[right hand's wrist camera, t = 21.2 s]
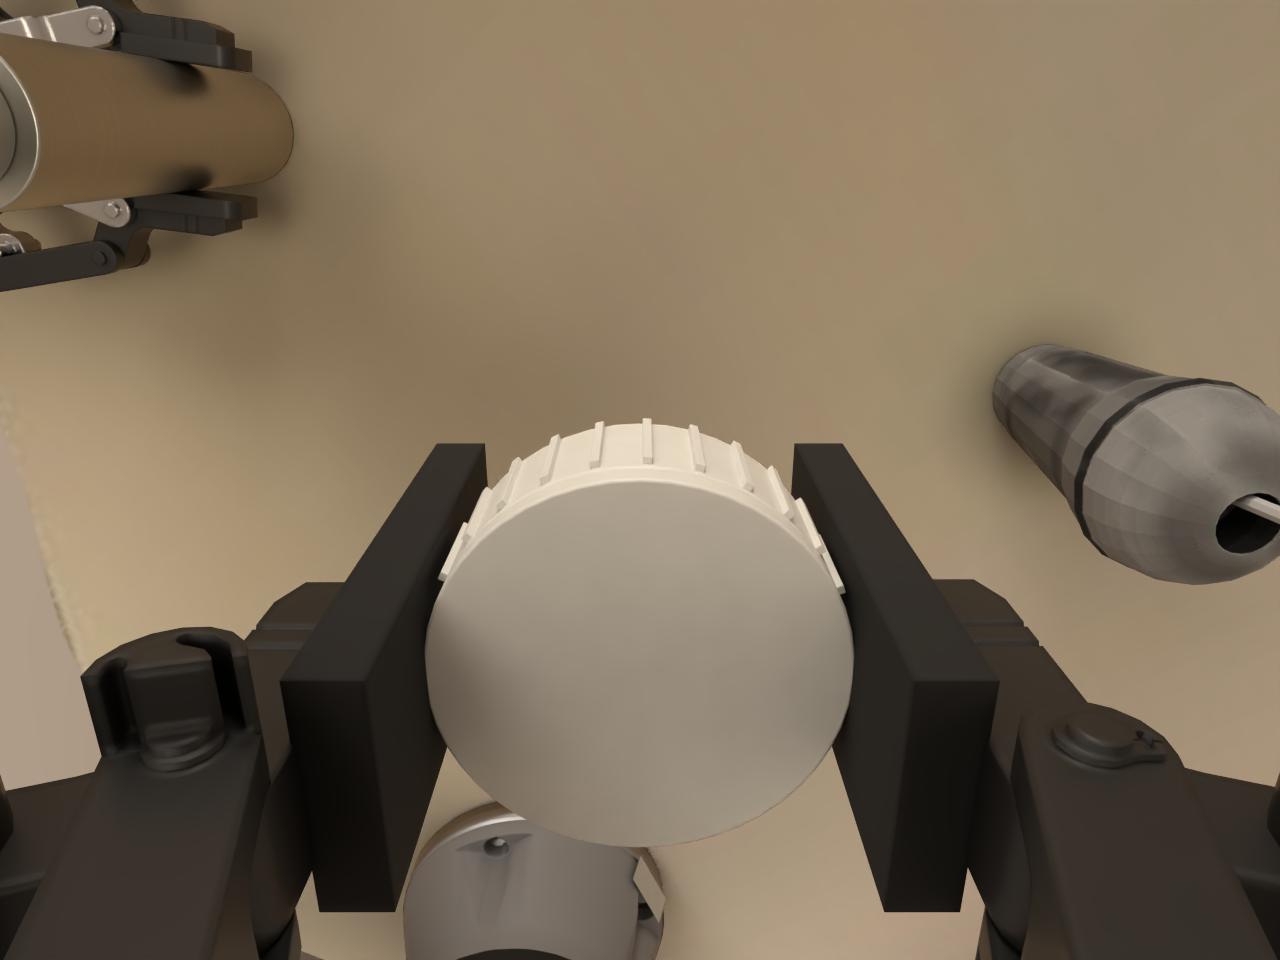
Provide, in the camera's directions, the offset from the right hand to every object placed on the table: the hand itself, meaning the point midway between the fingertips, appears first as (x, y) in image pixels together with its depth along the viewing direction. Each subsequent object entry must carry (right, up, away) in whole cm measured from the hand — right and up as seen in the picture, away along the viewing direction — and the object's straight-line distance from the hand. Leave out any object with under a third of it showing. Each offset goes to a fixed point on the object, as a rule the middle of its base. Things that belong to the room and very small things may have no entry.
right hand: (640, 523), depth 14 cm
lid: (0, -1, -4) cm, 4 cm away
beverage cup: (+19, +5, +28) cm, 34 cm away
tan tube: (-17, +16, +23) cm, 33 cm away
